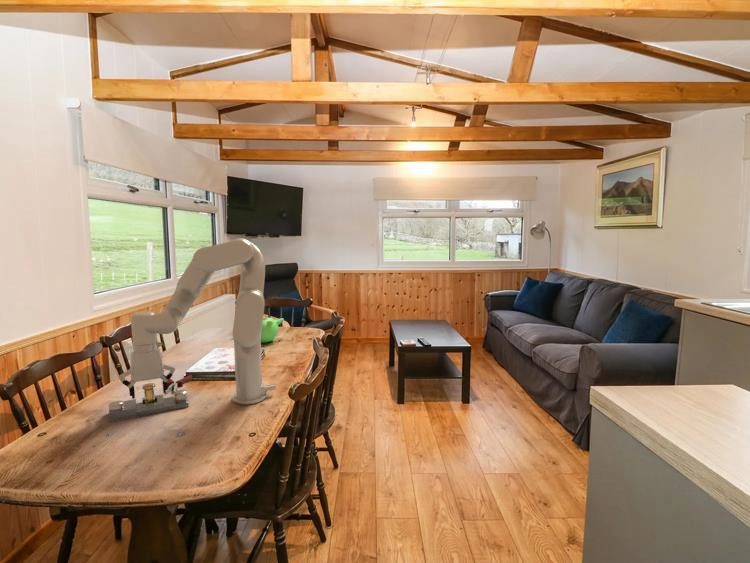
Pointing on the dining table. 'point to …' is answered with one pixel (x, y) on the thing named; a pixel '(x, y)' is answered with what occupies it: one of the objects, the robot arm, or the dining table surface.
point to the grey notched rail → (147, 406)
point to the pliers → (177, 383)
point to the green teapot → (269, 329)
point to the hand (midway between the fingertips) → (149, 394)
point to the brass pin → (149, 393)
